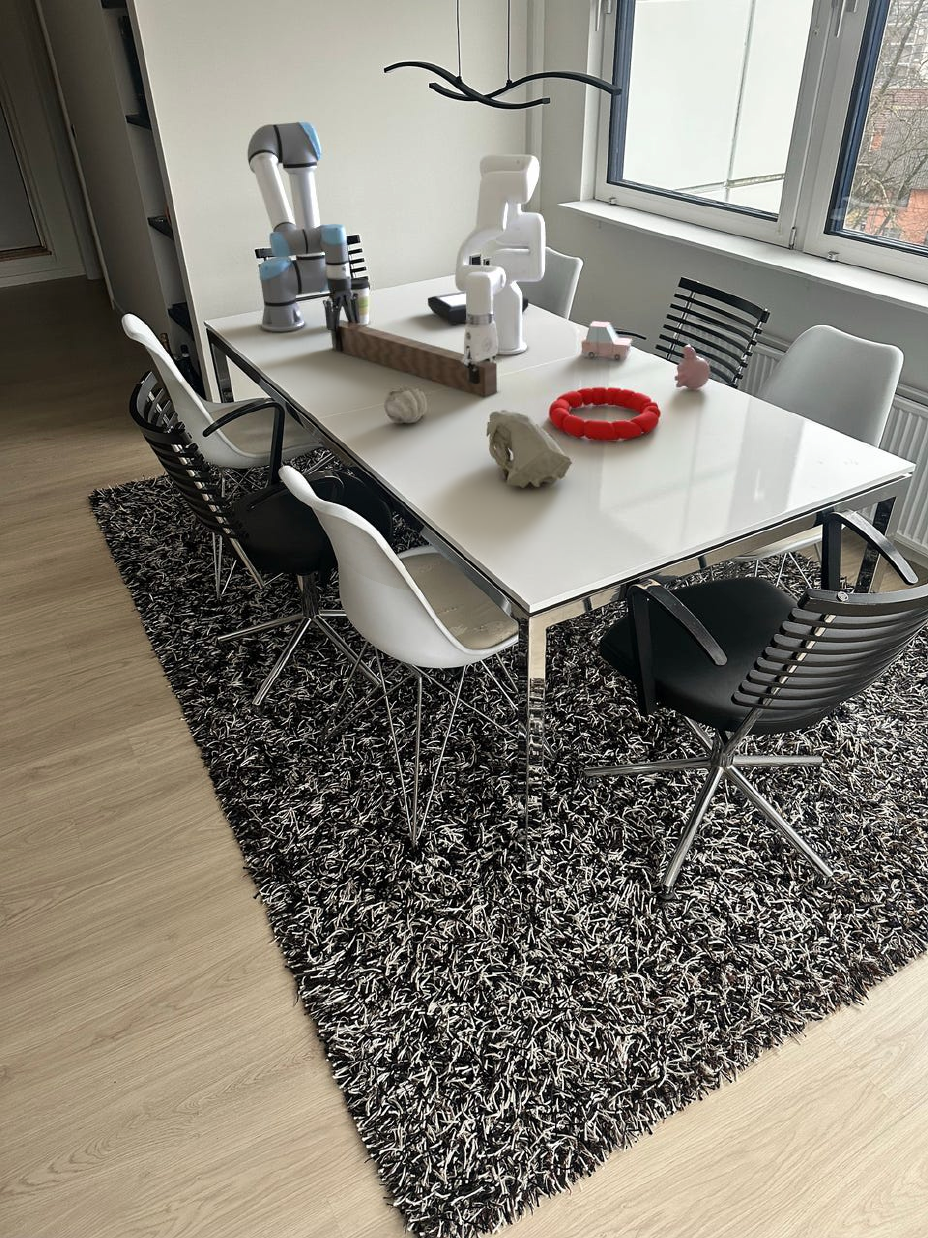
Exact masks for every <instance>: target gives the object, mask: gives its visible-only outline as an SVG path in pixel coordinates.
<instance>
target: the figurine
mask: <svg viewBox="0 0 928 1238" xmlns="http://www.w3.org/2000/svg"><path fill="white" fill-rule="evenodd" d="M682 354H683V358H684V359H683V361H682V362H679V363H678V364H677V365H676V372H677V375H675V376H674V381H675V382H676V381H677V382H676V384H675V386H676V388H681V387H686V388H688V389H693V390H694V389H695V390H696V389H700V388H703V387H704V386H705V385H706V384H707V383H708V382H709V379H710V377H711V367H710V364H709V362H708V361H706V359H704V358H702V357H700V356H697V353H696V350H695V349H694V347H692V345H690V344H686V345H685V346H684V347H683V348H682Z"/></svg>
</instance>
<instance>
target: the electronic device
mask: <svg viewBox="0 0 928 1238" xmlns="http://www.w3.org/2000/svg"><path fill="white" fill-rule="evenodd" d="M492 299H493V295H492ZM427 307H429V308H430V310H431V311H432V312H433V314H434V315H436V316H437V317H439V318H441V319H442V320H444V321H445V322H447V323H449V324H450V325H456V324H463V323H466V321H465V320H466V293H464V292H461V291H459V292H454V293H453V292H452V293H448V294H441V295H435V296H429V297H428V298H427ZM528 307H529V298H527V297H526V296H524V295H522V314H524V312H525V311H526V310H527V308H528Z"/></svg>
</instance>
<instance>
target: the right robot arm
mask: <svg viewBox="0 0 928 1238" xmlns="http://www.w3.org/2000/svg"><path fill="white" fill-rule="evenodd" d="M479 173H480V176H481V179H480V183H479V193H478V200H477V211H476V218H475V219H476V220H475V221H476V222H475V227H474V228H473V230H472V231H470V233H468V235H467V236H466V237H465V239H463V241H462V243H461V245H460V246H459V249H458V252H457V256H456V264H455V274H454V275H455V276H454V283H455V287H456V289H457V290H458V291H459V292H464V293H466V320H465V321H466V322H465V323H466V324H465V328H464V336H463V354H464V356H463V358H462V361H461V363H463V364H464V365H465V366H466V367H467V369H468V370H469V382H470V383H474V384H478V371H477V365H478V362H479V361H482V360H487V361H490V362H494V360H495V358H496V355H503V356H504V355H507V356H509V355H510V356H511V355H517V354H521V353H523V352H524V353H525V351H526V350H527V344H526V343H525V342H524V341H523V313H522V296H523V294H522V291H521V288H520V287H519V286H518V284H517V283H516V282H525V283H526V282H527V283H536V282H539V281H541V280H543V278H544V275H545V268H546V226H545V220H544V217H543V216H542V215H541V214H540V213H538V212H528V211H527V212H525V211H524V212H523V211H522V210H521V208H522V207H521V205H526V204H527V203H529V201H530V199H531V198H532V194H533V193H534V189H535V187H536V184H537V182H538V179H539V176H540V175H539V173H540V165H539V160H538V159H537V157H535V156H534V155H532V154H505V153H503V154H488V155H485V156H483V157H482V158H481V159H480V161H479ZM493 240H494V241H495V242H496V243H497V244H498V245H501V246H511V247H512V246H513V247H514V246H515V247H527V248H525V249H524V248H500V249H496V250H494V251H493V252H492V253H491V255H490V257H489V265H485V264H484V265H481V264H469V259H470V257H471V255H472V254H473V252H474V251H475V250H477V249H478V248H479V247H481V246H483V245H485V244H486V243H489V242H490V241H493ZM492 295H493V299H492ZM468 359H469V360H468ZM472 361H473V362H474V365H472Z"/></svg>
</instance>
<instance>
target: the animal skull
mask: <svg viewBox="0 0 928 1238" xmlns="http://www.w3.org/2000/svg"><path fill="white" fill-rule="evenodd" d="M486 425H487V427H486V435H485V436H486V438H487V437H489V438H488V440H489V444H488V445H489V446H488V450H489V454H490V456H491V457H492V458H493V459H494V460H495V462H496V464H497V466H499V468H500V470H501V471H502V472H501V478H502V479H507V480H506V484H507V486H517V487H518V486H519V488H523V489H524V488H526V486H527V485H529V483H531V485H533V486H534V487H536V488H540V485H541V484H542V482H544V483H549V484H550V485H553V484H555V483H556V482H557V480H561V479H563V478H565V476H566V474H567V472H568V471H569V469H570V467H571V466H572V464H573V462H572V461H571V458H570V457H568V456H567V455H565V453H564V451H562V449H561V448H560V446H559V444H557V443H556V439H555V438H554V436H553V435H551V434H550V433H548V432H547V431H546V430H545V429H544V428H542V427H541V426H539V425H538V424H537V423H536V424H535V422H534V421H533V419H532V418H531V417H530V416H529V415H527V414H524V413H519V412H515V411H509V410H507V409H502V410H500V411H499V410H495V411H492V412H491V414H489V421H487V423H486ZM511 453H512V454H511ZM511 455H512V457H513V458H512V460H511ZM507 474H508V475H507Z"/></svg>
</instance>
